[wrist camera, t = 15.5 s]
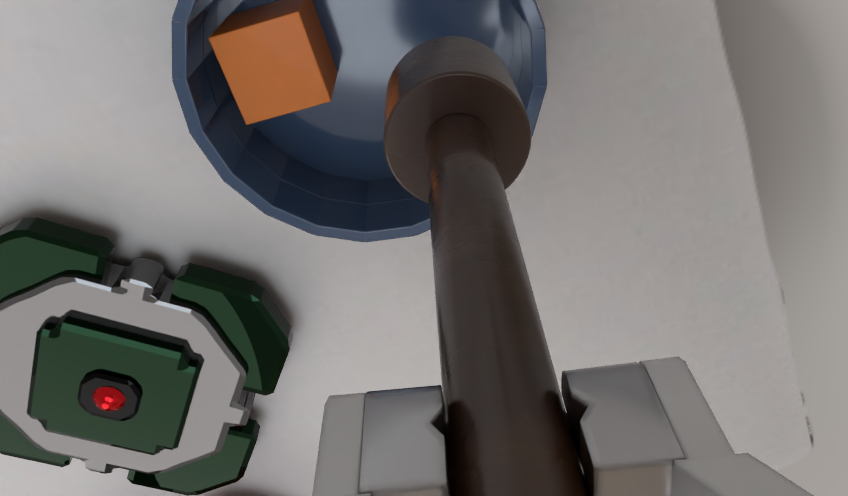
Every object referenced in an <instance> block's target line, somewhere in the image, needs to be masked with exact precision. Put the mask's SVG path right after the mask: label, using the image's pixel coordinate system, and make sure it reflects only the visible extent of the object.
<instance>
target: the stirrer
mask: <svg viewBox="0 0 848 496" xmlns="http://www.w3.org/2000/svg"><path fill="white" fill-rule="evenodd" d="M530 146H531V127H530V121H529V118H528V115H527V112H526V110H525V107H524V105H523V102H522V100H521V98H520V95H519V93H518V90H517V88H516V86H515V83H514V81H513V79H512V76H511V74H510V72H509V70H508V68H507V66H506V64H505V63H504V61H503V60H502V59H501V58H500V57H499V55H498V54H497V53H496V52H494V51H493V50H492V49H491V48H489V47H488V46H486V45H485V44H483V43H481V42H478V41H476V40H473V39H470V38H467V37H460V36H445V37H438V38H434V39H431V40H428V41H426V42H423V43H421V44H420V45H418V46H416V47H415V48H413V49H412V50H410V51H409V52H408V53H407V54H406V55H405V56H404V57H403V58H402V59H401V60H400V61H399V63H398V64H397V65H396V67H395V69H394V70H393V72H392V74H391V77H390V79H389V82H388V86H387V90H386V101H385V120H384V152H385V157H386V161H387V164H388V166H389V168H390V170H391V172H392V174H393V176H394V177H395V179H396V180H397V181H398V182H399V184H400V185H401V186H402V187H403V188H404V189H405V190H407V191H408V192H409V193H410V194H412V195H413V196H415V197H416V198H418V199H420V200H422V201H424V202H427V203H429V212H430V226H431V239H432V253H433V267H434V281H435V295H436V309H437V323H438V336H439V350H440V364H441V378H442V392H443V398H444V403H445V412H446V424H447V436H448V446H447V457H448V463H449V469H450V476H451V492H452V496H589V495H588V491H587V487H586V484H585V480H584V476H583V473H582V469H581V465H580V462H579V458H578V455H577V451H576V447H575V444H574V440H573V436H572V433H571V429H570V425H569V422H568V418H567V414H566V411H565V407H564V404H563V400H562V396H561V393H560V389H559V385H558V382H557V378H556V374H555V371H554V367H553V364H552V360H551V356H550V353H549V349H548V345H547V342H546V338H545V334H544V331H543V327H542V324H541V320H540V316H539V313H538V309H537V305H536V302H535V298H534V294H533V291H532V287H531V284H530V280H529V276H528V273H527V269H526V265H525V262H524V258H523V254H522V251H521V247H520V244H519V240H518V236H517V233H516V229H515V225H514V222H513V218H512V214H511V211H510V207H509V203H508V200H507V196H506V193H505V189H507V188H508V187H509V186H510V185H511V184H512V183H513V182H514V180H515V179H516V178H517V176H518V175H519V174H520V172H521V171H522V169H523V167H524V165H525V163H526V160H527V158H528V155H529V151H530Z"/></svg>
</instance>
